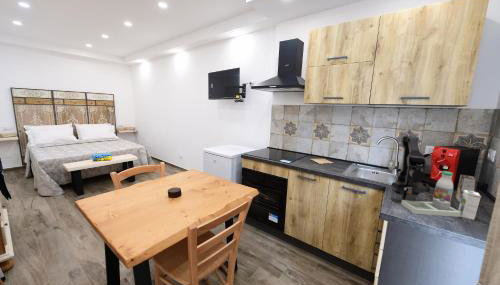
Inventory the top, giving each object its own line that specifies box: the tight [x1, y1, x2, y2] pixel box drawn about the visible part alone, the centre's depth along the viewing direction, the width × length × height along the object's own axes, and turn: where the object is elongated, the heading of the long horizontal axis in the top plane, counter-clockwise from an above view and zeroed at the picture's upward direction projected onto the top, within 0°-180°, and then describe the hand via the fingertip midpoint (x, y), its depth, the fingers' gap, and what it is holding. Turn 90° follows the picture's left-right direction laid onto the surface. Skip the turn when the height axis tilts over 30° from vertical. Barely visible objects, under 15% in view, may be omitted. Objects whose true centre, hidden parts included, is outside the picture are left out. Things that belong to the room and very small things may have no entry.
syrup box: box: [457, 190, 482, 221], centre depth 107 cm, size 6×6×14 cm
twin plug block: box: [432, 198, 452, 211], centre depth 112 cm, size 5×5×7 cm
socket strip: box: [400, 200, 461, 218], centre depth 113 cm, size 11×23×4 cm, turn 87°
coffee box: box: [455, 174, 479, 203], centre depth 129 cm, size 9×6×16 cm
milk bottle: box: [432, 170, 454, 203], centre depth 123 cm, size 8×8×20 cm
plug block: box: [400, 190, 418, 201], centre depth 123 cm, size 5×5×7 cm
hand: (407, 200), depth 123 cm, fingers closed on plug block, 5 cm apart
